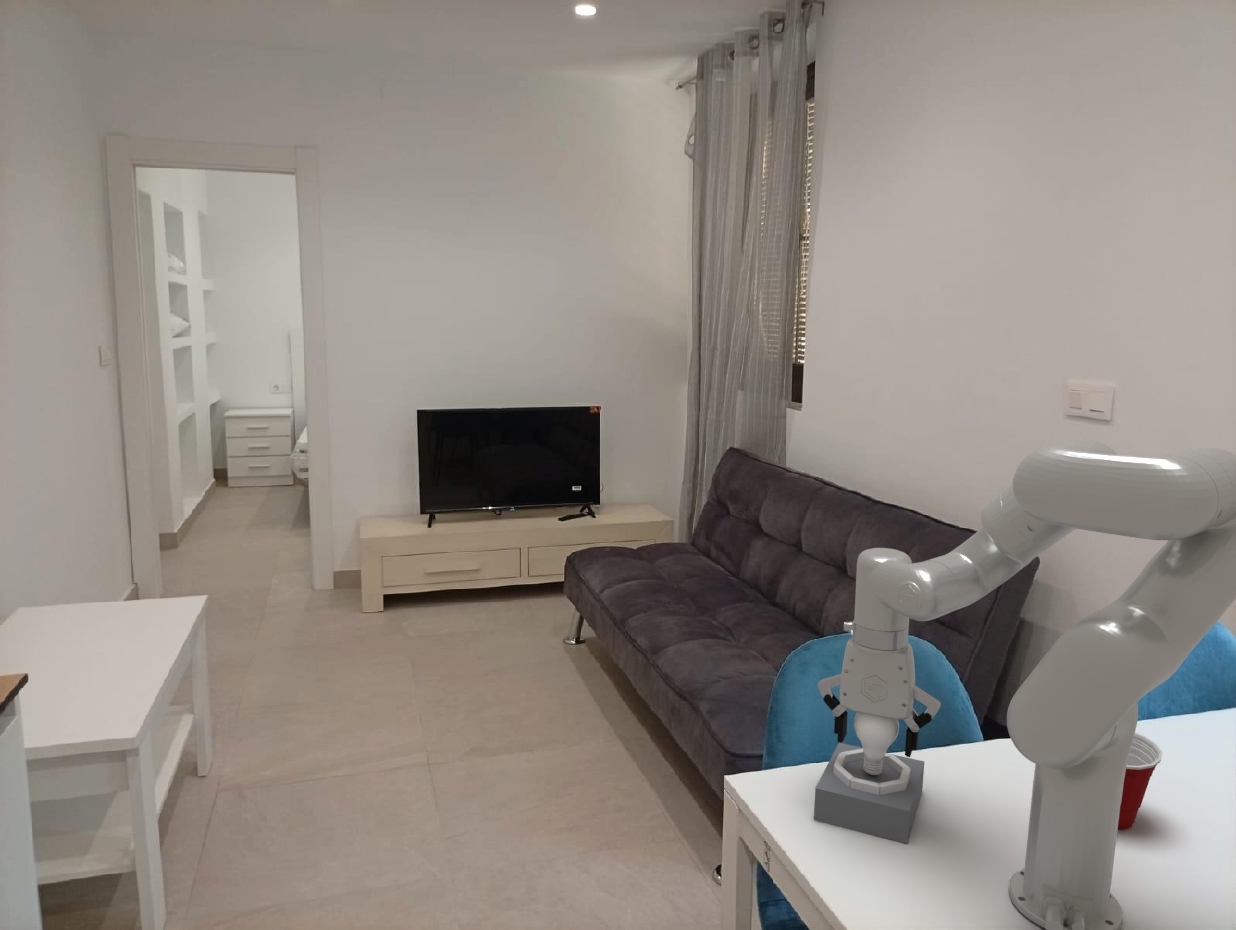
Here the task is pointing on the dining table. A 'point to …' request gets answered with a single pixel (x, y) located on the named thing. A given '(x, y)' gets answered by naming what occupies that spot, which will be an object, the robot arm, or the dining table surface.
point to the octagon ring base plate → (869, 794)
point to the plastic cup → (1137, 778)
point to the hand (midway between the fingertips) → (874, 745)
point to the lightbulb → (875, 739)
